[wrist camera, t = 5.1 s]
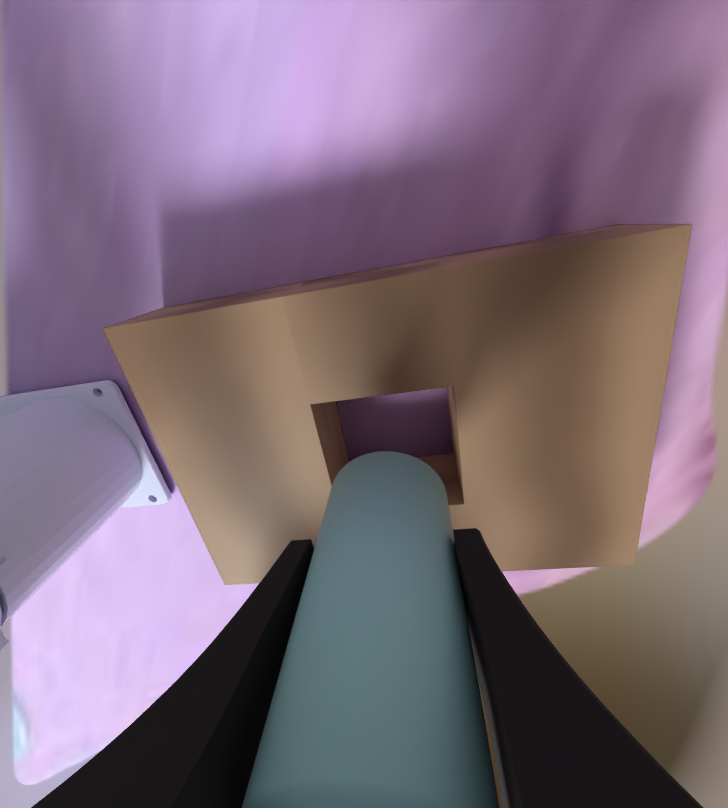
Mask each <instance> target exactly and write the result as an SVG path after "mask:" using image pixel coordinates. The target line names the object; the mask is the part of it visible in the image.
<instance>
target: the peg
mask: <svg viewBox="0 0 728 808" xmlns="http://www.w3.org/2000/svg"><path fill="white" fill-rule="evenodd" d="M242 808H499V803H498V797H497V791H496V786H495V780H494V773H493V767H492V761H491V756H490V749H489V743H488V737H487V731H486V726H485V720H484V713H483V707H482V702H481V696H480V690H479V684H478V678H477V672H476V666H475V660H474V654H473V648H472V642H471V636H470V630H469V624H468V618H467V612H466V606H465V600H464V594H463V589H462V584H461V579H460V575H459V568H458V562H457V556H456V550H455V544H454V535H453V529H452V523H451V517H450V511H449V505H448V499H447V493H446V489H445V486H444V484H443V482H442V480H441V478H440V477H439V475H438V474H437V473H436V472H435V471H434V470H433V469H432V468H431V467H430V466H429V465H428V464H426V463H425V462H423V461H422V460H420V459H418V458H416V457H413V456H411V455H408V454H404V453H400V452H394V451H379V452H372V453H368V454H365V455H362V456H359V457H357V458H355V459H353V460H352V461H350V462H349V463H347V464H346V465H345V466H344V467H343V468H342V469H341V470H340V471H339V472H338V474H337V475H336V477H335V479H334V481H333V484H332V487H331V491H330V495H329V498H328V502H327V505H326V509H325V512H324V516H323V520H322V523H321V527H320V530H319V534H318V537H317V541H316V545H315V548H314V552H313V555H312V559H311V562H310V566H309V570H308V573H307V577H306V580H305V584H304V587H303V591H302V594H301V598H300V602H299V605H298V609H297V612H296V616H295V619H294V623H293V627H292V630H291V634H290V637H289V641H288V644H287V648H286V652H285V655H284V659H283V662H282V666H281V669H280V673H279V677H278V680H277V684H276V687H275V691H274V694H273V698H272V701H271V705H270V709H269V712H268V716H267V719H266V723H265V726H264V730H263V734H262V737H261V741H260V744H259V748H258V751H257V755H256V759H255V762H254V766H253V769H252V773H251V776H250V780H249V784H248V787H247V791H246V794H245V798H244V801H243V805H242Z"/></svg>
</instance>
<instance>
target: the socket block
mask: <svg viewBox="0 0 728 808" xmlns="http://www.w3.org/2000/svg"><path fill="white" fill-rule="evenodd" d="M691 228H692V224H620V225H614V226H609V227H603V228H598V229H592V230H587V231H581V232H576V233H570V234H565V235H560V236H554V237H549V238H543V239H538V240H532V241H527V242H521V243H516V244H510V245H505V246H499V247H494V248H488V249H483V250H477V251H472V252H466V253H461V254H455V255H450V256H444V257H439V258H433V259H428V260H422V261H417V262H411V263H406V264H400V265H395V266H389V267H384V268H378V269H373V270H367V271H362V272H356V273H351V274H345V275H340V276H334V277H329V278H323V279H318V280H313V281H307V282H302V283H296V284H291V285H285V286H280V287H274V288H269V289H263V290H258V291H252V292H247V293H241V294H236V295H230V296H225V297H219V298H214V299H208V300H203V301H197V302H192V303H186V304H181V305H175V306H170V307H164V308H161V309H158V310H155V311H152V312H149V313H146V314H143V315H140V316H138V317H135V318H132V319H129V320H126V321H123V322H120V323H117V324H114V325H111V326H108V327H105V328H103V331H104V333H105V335H106V337H107V340H108V342H109V344H110V346H111V348H112V350H113V352H114V354H115V356H116V358H117V361H118V363H119V365H120V367H121V369H122V371H123V373H124V375H125V377H126V379H127V381H128V384H129V386H130V388H131V390H132V392H133V394H134V396H135V398H136V400H137V402H138V404H139V407H140V409H141V411H142V413H143V415H144V417H145V419H146V421H147V423H148V425H149V428H150V430H151V432H152V434H153V436H154V438H155V440H156V442H157V444H158V446H159V448H160V451H161V453H162V455H163V457H164V459H165V461H166V463H167V465H168V467H169V469H170V472H171V474H172V476H173V478H174V480H175V482H176V484H177V486H178V488H179V490H180V492H181V495H182V497H183V499H184V501H185V503H186V505H187V507H188V509H189V511H190V513H191V516H192V518H193V520H194V522H195V524H196V526H197V528H198V530H199V532H200V534H201V536H202V539H203V541H204V543H205V545H206V547H207V549H208V551H209V553H210V555H211V557H212V560H213V562H214V564H215V566H216V568H217V570H218V572H219V574H220V576H221V578H222V580H223V583H224V585H231V584H251V583H260V582H261V581H262V579H263V578H264V577H265V575H266V574H267V573H268V571H269V570H270V568H271V567H272V566H273V564H274V563H275V562H276V560H277V559H278V557H279V556H280V555H281V553H282V552H283V551H284V549H285V548H286V547H287V545H288V544H289V543H290V542H291V540H305V539H311V540H312V543H313V546H314V548H315V545H316V541H317V537H318V534H319V530H320V527H321V523H322V520H323V516H324V512H325V509H326V505H327V502H328V498H329V495H330V491H331V487H332V484H333V481H334V479H335V477H336V475H337V474H338V472H339V471H340V470H341V469H342V468H343V467H344V466H345V465H346V464H347V463H349V462H350V461H349V457H348V453H347V448H346V444H345V440H344V436H343V431H342V427H341V423H340V418H339V414H338V410H337V406H336V401H341V400H349V399H356V398H364V397H372V396H380V395H388V394H396V393H404V392H412V391H419V390H427V389H435V388H443V387H447V396H448V406H449V417H450V427H451V438H452V448H453V453H452V454H442V455H432V456H422V457H416V458H418V459H420V460H422V461H423V462H425V463H426V464H428V465H429V466H430V467H431V468H432V469H433V470H434V471H435V472H436V473H437V474H438V475H439V477H440V478H441V480H442V482H443V484H444V486H445V489H446V493H447V499H448V505H449V511H450V517H451V523H452V529H453V530H454V529H469V528H477V529H478V530H479V531H480V532H481V534H482V537H483V539H484V541H485V543H486V545H487V547H488V549H489V551H490V553H491V554H492V556H493V558H494V560H495V561H496V563H497V565H498V566H499V568H500V570H501V571H518V570H538V569H559V568H579V567H600V566H620V565H635V559H636V553H637V547H638V542H639V536H640V530H641V524H642V518H643V512H644V506H645V500H646V494H647V488H648V482H649V476H650V471H651V465H652V459H653V453H654V447H655V441H656V435H657V429H658V423H659V417H660V411H661V406H662V400H663V394H664V388H665V382H666V376H667V370H668V364H669V358H670V352H671V346H672V340H673V335H674V329H675V323H676V317H677V311H678V305H679V299H680V293H681V287H682V281H683V275H684V269H685V264H686V258H687V252H688V246H689V240H690V234H691Z"/></svg>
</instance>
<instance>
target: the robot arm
mask: <svg viewBox="0 0 728 808" xmlns="http://www.w3.org/2000/svg"><path fill="white" fill-rule="evenodd" d="M98 389H100V390H101V391H102V393H100V391H99V390H98ZM154 496H155V497H154ZM170 499H171V493H170V491H169V489H168V487H167V485H166V483H165V481H164V478H163V476H162V474H161V472H160V470H159V468H158V466H157V464H156V462H155V460H154V458H153V456H152V454H151V452H150V450H149V448H148V446H147V444H146V442H145V440H144V438H143V436H142V434H141V432H140V430H139V428H138V426H137V424H136V421H135V419H134V417H133V415H132V413H131V411H130V409H129V407H128V405H127V403H126V401H125V399H124V397H123V395H122V393H121V391H120V389H119V387H118V386H117V384H115V383H114V382H113V381H110V380H104V381H97V382H91V383H84V384H78V385H71V386H65V387H58V388H51V389H45V390H38V391H32V392H25V393H18V394H12V395H5V396H0V651H1V650H2V649H3V648H4V647H5V646H6V644H8V642H9V640H8V639H7V637H6V636H5V635H4V633H3V631H2V629H1V626H2V625H3V624H4V623H5V622H6V621H7V620H8V619H9V618H10V617H11V616H12V615H13V614H14V613H15V612H16V611H17V610H18V609H19V608H20V607H21V606H22V605H23V604H24V603H25V602H26V601H27V600H28V599H29V598H30V597H31V596H32V595H33V594H34V593H35V592H36V591H37V590H38V589H39V588H40V587H41V586H42V585H43V584H44V583H45V582H46V581H47V580H48V579H49V578H50V577H51V576H52V575H53V574H54V573H55V572H56V571H57V570H58V569H59V568H60V567H61V566H62V565H63V564H64V563H65V562H66V561H67V560H68V559H69V558H70V557H71V556H72V555H73V554H74V553H75V552H76V551H77V550H78V549H79V548H80V547H81V546H82V545H83V544H84V543H85V542H86V541H87V540H88V539H89V538H90V537H91V536H92V535H93V534H94V533H95V532H96V531H97V530H98V529H99V528H100V527H101V526H102V525H103V524H104V523H105V522H106V521H107V520H108V519H109V518H110V517H111V516H112V515H113V514H114V513H115V512H116V511H117V510H118V509H119V508H125V507H136V506H148V505H159V504H166V503H167V502H168V501H169V500H170ZM453 535H454V544H455V550H456V556H457V562H458V568H459V575H460V579H461V584H462V589H463V594H464V600H465V606H466V612H467V618H468V624H469V630H470V636H471V642H472V648H473V654H474V660H475V666H476V672H477V677H478V681H479V685H480V688H481V693H482V697H483V701H484V706H485V710H486V714H487V718H488V723H489V728H490V733H491V738H492V743H493V748H494V755H495V761H496V767H497V772H498V779H499V785H500V791H501V796H502V803H503V808H703V807H702V806H701V805H700V804H699V803H698V802H697V801H696V800H695V799H694V798H693V797H692V796H691V795H690V794H689V793H688V792H687V791H686V790H685V789H684V788H683V787H682V786H681V785H680V784H679V783H678V782H677V781H676V780H675V779H674V778H673V777H672V776H671V775H670V774H669V773H668V772H667V771H666V770H665V769H664V768H663V767H662V766H661V765H660V764H659V763H658V762H657V761H656V760H655V759H654V758H653V757H652V756H651V755H650V754H649V753H648V752H647V750H645V748H644V747H643V746H642V745H641V744H640V743H639V742H638V741H637V740H636V739H635V738H634V737H633V736H632V735H631V733H630V732H629V731H628V730H627V729H626V728H625V727H624V726H623V725H622V724H621V723H620V722H619V721H618V720H617V719H616V718H615V717H614V715H612V714H611V712H610V711H609V710H608V709H607V708H606V707H605V706H604V705H603V704H602V702H601V701H600V700H599V699H598V698H597V697H596V695H595V694H594V693H593V692H592V691H591V690H590V689H589V687H588V686H587V685H586V684H585V683H584V682H583V681H582V680H581V678H580V677H579V676H578V675H577V673H576V672H575V671H574V670H573V669H572V667H571V666H570V665H569V664H568V663H567V662H566V660H565V659H564V658H563V657H562V655H561V654H560V653H559V652H558V650H557V649H556V648H555V647H554V645H553V644H552V643H551V641H550V640H549V639H548V638H547V636H546V635H545V634H544V632H543V631H542V630H541V628H540V627H539V626H538V624H537V623H536V622H535V621H534V619H533V618H532V616H531V615H530V613H529V612H528V611H527V609H526V608H525V606H524V605H523V604H522V602H521V601H520V599H519V598H518V596H517V595H516V593H515V592H514V590H513V589H512V587H511V586H510V584H509V583H508V581H507V579H506V578H505V576H504V575H503V573H502V572H501V570H500V568H499V566H498V565H497V563H496V561H495V560H494V558H493V556H492V554H491V553H490V551H489V549H488V547H487V545H486V543H485V541H484V539H483V537H482V534H481V532H480V531H479V530H478V529H477V528H469V529H454V530H453ZM313 552H314V546H313V543H312V540H311V539H305V540H291V542H290V543H289V544H288V545H287V547H286V548H285V549H284V551H283V552H282V553H281V555H280V556H279V557H278V559H277V560H276V562H275V563H274V564H273V566H272V567H271V568H270V570H269V571H268V573H267V574H266V575H265V577H264V578H263V579H262V581H261V582H260V583H259V585H258V586H257V587H256V589H255V590H254V591H253V592H252V594H251V595H250V596H249V598H248V599H247V600H246V602H245V603H244V604H243V605H242V607H241V608H240V609H239V611H238V612H237V613H236V614H235V615H234V617H233V618H232V619H231V620H230V621H229V623H228V624H227V625H226V626H225V627H224V629H223V630H222V631H221V632H220V633H219V635H218V636H217V637H216V638H215V639H214V641H213V642H212V643H211V644H210V645H209V646H208V647H207V649H206V650H205V651H204V652H203V653H202V654H201V655H200V656H199V657H198V659H197V660H196V661H195V662H194V663H193V664H192V665H191V666H190V667H189V668H188V669H187V670H186V671H185V672H184V673H183V675H182V676H181V677H180V678H179V679H178V680H177V681H176V682H175V683H174V684H173V685H172V686H171V687H170V688H169V689H168V690H167V691H166V692H165V693H164V694H163V695H161V696H160V697H159V698H158V699H157V700H156V701H155V702H154V703H153V704H152V705H151V706H150V707H149V708H148V709H147V710H146V711H145V712H144V713H143V714H142V715H141V716H139V717H138V718H137V719H136V720H135V721H134V722H133V723H132V724H131V725H130V726H129V727H128V728H127V729H125V730H124V731H123V732H122V733H121V734H120V735H119V736H118V737H116V738H115V739H114V740H113V741H112V742H111V743H110V744H109V745H107V746H106V747H105V748H104V749H103V750H102V751H100V752H99V753H98V754H97V755H96V756H95V757H93V758H92V759H91V760H90V761H89V762H88V763H86V764H85V765H84V766H83V767H82V768H80V769H79V770H78V771H77V772H76V773H74V774H73V775H72V776H71V777H69V778H68V779H67V780H66V781H65V782H64V783H62V784H61V785H59V787H57V788H56V789H54V790H53V791H52V792H51V793H49V794H48V795H47V796H46V797H44V798H43V799H42V800H40V801H39V802H38V803H37V804H35V805H34V806H33V807H32V808H242V805H243V801H244V798H245V794H246V791H247V787H248V784H249V780H250V776H251V773H252V769H253V766H254V762H255V759H256V755H257V751H258V748H259V744H260V741H261V737H262V734H263V730H264V726H265V723H266V719H267V716H268V712H269V709H270V705H271V701H272V698H273V694H274V691H275V687H276V684H277V680H278V677H279V673H280V669H281V666H282V662H283V659H284V655H285V652H286V648H287V644H288V641H289V637H290V634H291V630H292V627H293V623H294V619H295V616H296V612H297V609H298V605H299V602H300V598H301V594H302V591H303V587H304V584H305V580H306V577H307V573H308V570H309V566H310V562H311V559H312V555H313Z"/></svg>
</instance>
